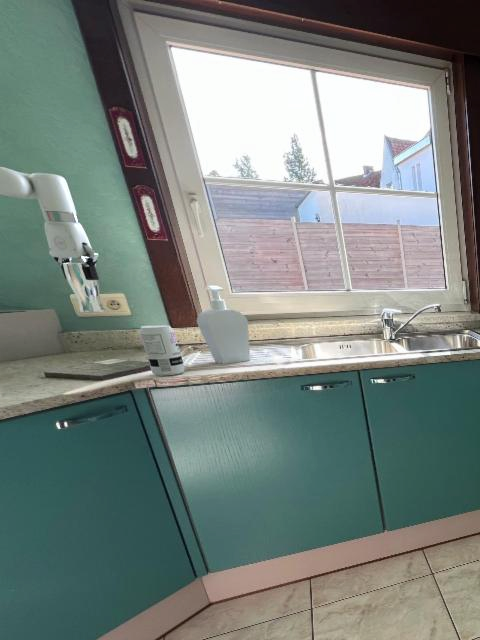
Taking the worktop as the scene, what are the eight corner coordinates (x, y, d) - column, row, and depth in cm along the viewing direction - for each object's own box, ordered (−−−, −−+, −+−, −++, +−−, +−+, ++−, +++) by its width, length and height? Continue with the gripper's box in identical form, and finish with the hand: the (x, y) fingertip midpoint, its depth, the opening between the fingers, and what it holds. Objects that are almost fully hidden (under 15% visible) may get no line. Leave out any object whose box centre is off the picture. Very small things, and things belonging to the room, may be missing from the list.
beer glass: (79, 313, 157) (62, 263, 152) (77, 311, 162) (60, 262, 156) (109, 311, 162) (93, 263, 157) (106, 309, 166) (90, 262, 161)
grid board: (45, 376, 150) (43, 371, 149) (113, 363, 168) (111, 359, 168) (102, 380, 148) (101, 375, 147) (165, 366, 166) (164, 362, 166)
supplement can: (149, 373, 157) (133, 326, 151) (180, 369, 163) (167, 323, 157) (157, 377, 152) (142, 328, 147) (190, 373, 159) (176, 326, 153)
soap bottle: (242, 356, 185) (225, 284, 175) (257, 359, 180) (239, 286, 171) (205, 361, 175) (184, 285, 165) (219, 365, 170) (198, 287, 161)
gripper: (22, 217, 149) (45, 278, 155) (73, 218, 147) (94, 281, 154) (50, 219, 156) (71, 278, 162) (99, 220, 154) (118, 280, 161)
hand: (82, 279), depth 158 cm, fingers closed on beer glass, 7 cm apart
